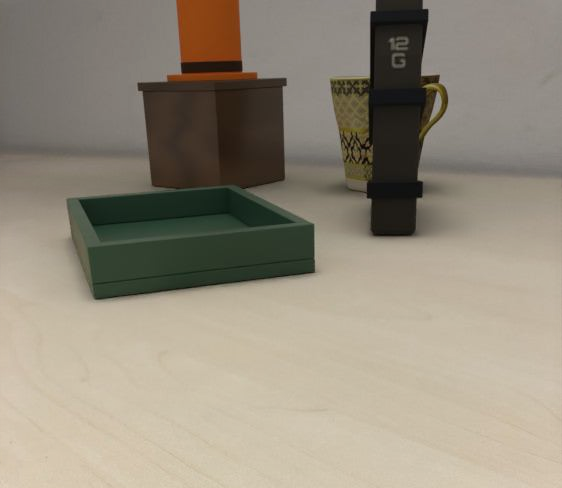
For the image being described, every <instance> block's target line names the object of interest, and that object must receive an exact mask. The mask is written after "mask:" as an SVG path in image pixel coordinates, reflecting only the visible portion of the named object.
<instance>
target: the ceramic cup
mask: <svg viewBox="0 0 562 488" xmlns="http://www.w3.org/2000/svg"><path fill="white" fill-rule="evenodd" d="M440 77H441V75H440V74H439V73H421V88H422V87H426V88H427V94H426V105H425V109H424V113H423V116H422V120H421V124H420V131H419V159H418V168H419V165H420V162H421V161H420V160H421V156H422V151H423V146H424V142H425V138H426V135H428V134H429V133H428V132H429V131H430V130H431V128H433V126H434V125H436V124H437V123H438V122H439V121H440V120H441V119H442V118H443V116H444V115H445V113H446V112H447V110H448V106H449V95H448V91H447V90H448V89H447V88H446V87H445V85H443V84H441V83H439V82H440ZM329 84H330V91H331V99H332V106H333V111H334V116H335V120H336V126H337V129H338V134H339V135H338V136H339V141H340V148H341V154H342V155H341V156H342V161H343V168H344V176H345V181H346V186H347V189H348V190H354V191H357V192H364V193H367V182H368V180H372V153H373V144H369V115H368V96H369V89H370V74H367V75H344V76H343V75H342V76H331V77H330V78H329ZM437 93H438V94H439V95H440V99H441V105H440V108H439V110H438V112H437V113H436V114H435V116H434V117H433V118H431V117H432V114H433V111H434V107H435V103H436V99H437Z"/></svg>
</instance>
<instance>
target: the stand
mask: <svg viewBox="0 0 562 488" xmlns="http://www.w3.org/2000/svg"><path fill="white" fill-rule="evenodd" d="M136 85H137V91H138V92H141V93H142V101H143V112H144V113H143V114H144V122H145V132H146V139H147V140H146V142H147V143H146V144H147V151H148V162H149V172H150V180H151V181H150V182H151V186H154V187H162V188H169V189H170V188H172V189H187V188H199V187H211V186H224V185H236V186H238V187H240V188H242V189H248V188H251V187H255V186H261V185H266V184H271V183H275V182H280V181H284V180H286V162H285V161H286V159H285V158H286V157H285V118H284V87H287V86H288V79H287V77H257V79H245V80H220V81H185V82H168V81H167V80H166V81H165V80H164V81H146V82H145V81H141V82H139V81H138V82H137V83H136Z"/></svg>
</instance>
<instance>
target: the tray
mask: <svg viewBox="0 0 562 488" xmlns="http://www.w3.org/2000/svg"><path fill="white" fill-rule="evenodd" d="M65 201H66V208H67V215H68V223H69V229H70V236H71V239H72V241H73V242H72V243H73V244H74V247H75V249H76V253H77V255H78V258H79V260H80V263H81V266H82V269H83V272H84V273H85V277H86V279H87V282H88V285H89V289H90V291H91V293H92V296H93V298H94V300H97V299H105V298H113V297H121V296H129V295H137V294H146V293H152V292H153V293H154V292H161V291H169V290H178V289H186V288H195V287H201V286H211V285H218V284H227V283H234V282H235V283H236V282H241V281H242V282H243V281H250V280H258V279H259V280H260V279H266V278H275V277H284V276H290V275H291V276H292V275H298V274H299V275H300V274H306V273H315V271H316V260H315V257H316V256H315V253H316V252H315V249H316V247H315V224H314V223H313V222H311V221H309V220H306V219H305V218H303V217H301V216H298V215H296V214H295V213H293V212H290V211H288V210H286V209H284V208H282V207H281V206H278V205H276V204H274V203H272V202H270V201H268V200H266V199H264V198H262V197H260V196H258V195H256V194H254V193H252V192H250V191H248V190H245V188H243V189H242V188H240V187H238V186H236V185H224V186H211V187H199V188H187V189H179V188H173V189H165V190H151V191H150V190H149V191H139V192H138V191H137V192H127V193H117V194H116V193H114V194H101V195H91V196H90V195H89V196H78V197H76V196H75V197H67V198H66V199H65Z"/></svg>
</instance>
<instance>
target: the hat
mask: <svg viewBox="0 0 562 488" xmlns="http://www.w3.org/2000/svg"><path fill="white" fill-rule="evenodd" d="M175 1H176V14H177V15H176V17H177V28H178V29H177V30H178V41H179V53H180V54H179V55H180V73H181V74H179V73H178V74H167V75H166V81H168V82H185V81H220V80H245V79H257V78H258V72H257V71H249V72H248V71H247V72H246V71H245V72H243V60H242V59H243V57H242V38H241V37H242V36H241V17H240V15H241V13H240V0H175Z"/></svg>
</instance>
